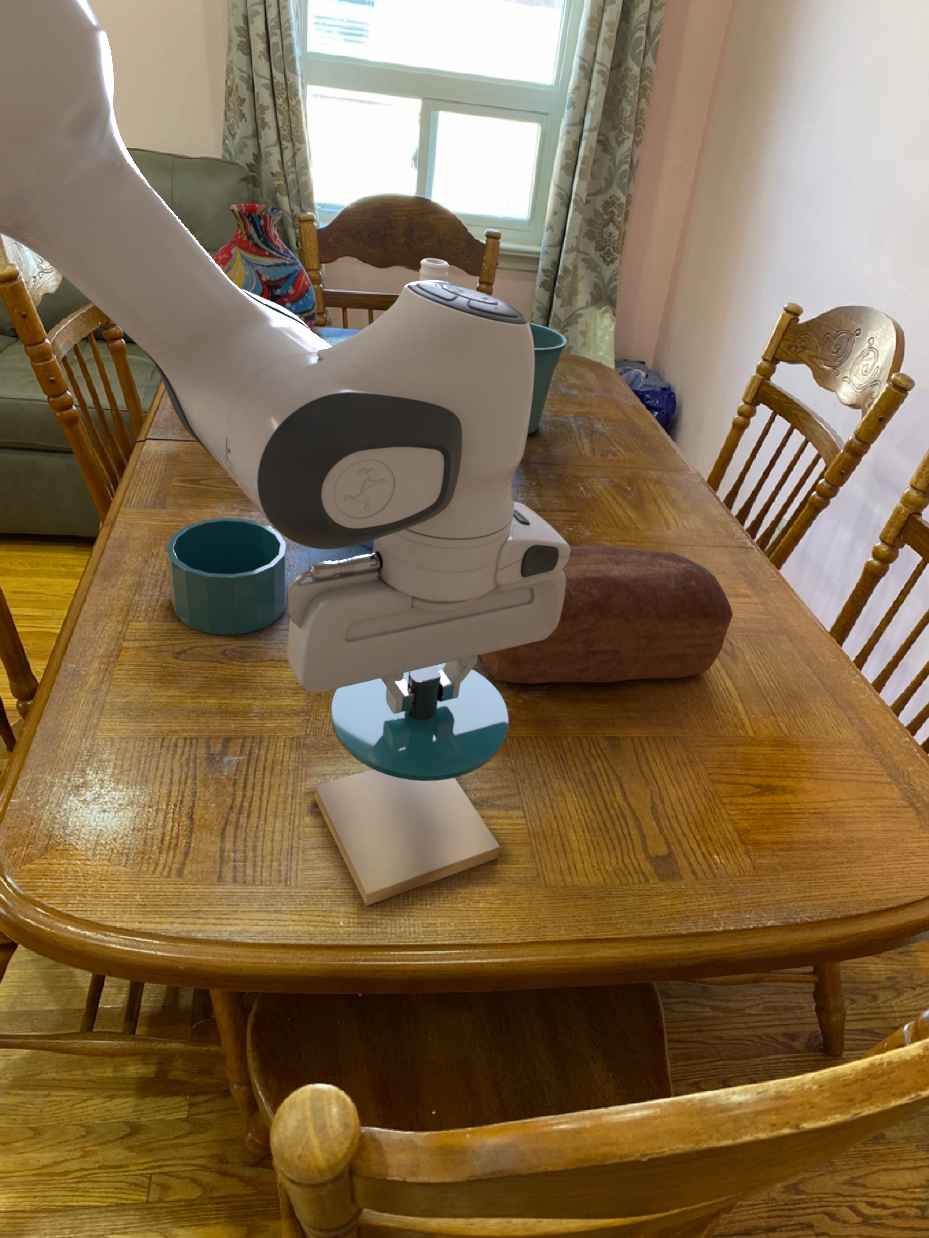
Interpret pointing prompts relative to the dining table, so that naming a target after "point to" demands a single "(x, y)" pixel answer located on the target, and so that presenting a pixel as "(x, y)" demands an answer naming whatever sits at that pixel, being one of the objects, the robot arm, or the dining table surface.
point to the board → (402, 831)
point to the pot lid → (422, 726)
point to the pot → (227, 575)
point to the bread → (625, 621)
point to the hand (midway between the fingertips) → (422, 700)
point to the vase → (266, 262)
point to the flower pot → (543, 368)
